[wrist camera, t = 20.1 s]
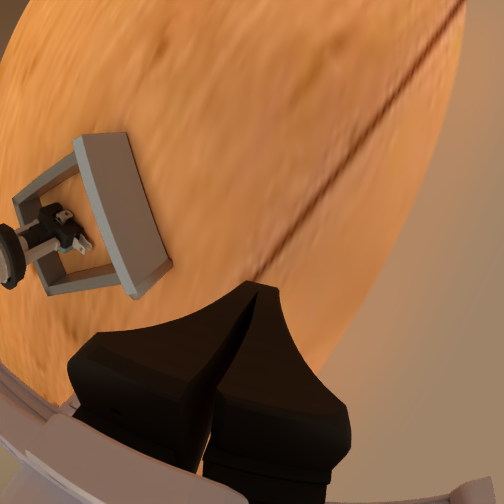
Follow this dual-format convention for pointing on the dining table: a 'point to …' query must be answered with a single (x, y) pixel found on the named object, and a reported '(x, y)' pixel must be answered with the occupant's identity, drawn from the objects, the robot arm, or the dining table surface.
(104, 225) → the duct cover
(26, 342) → the dining table surface
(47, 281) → the duct bay
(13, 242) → the push button
